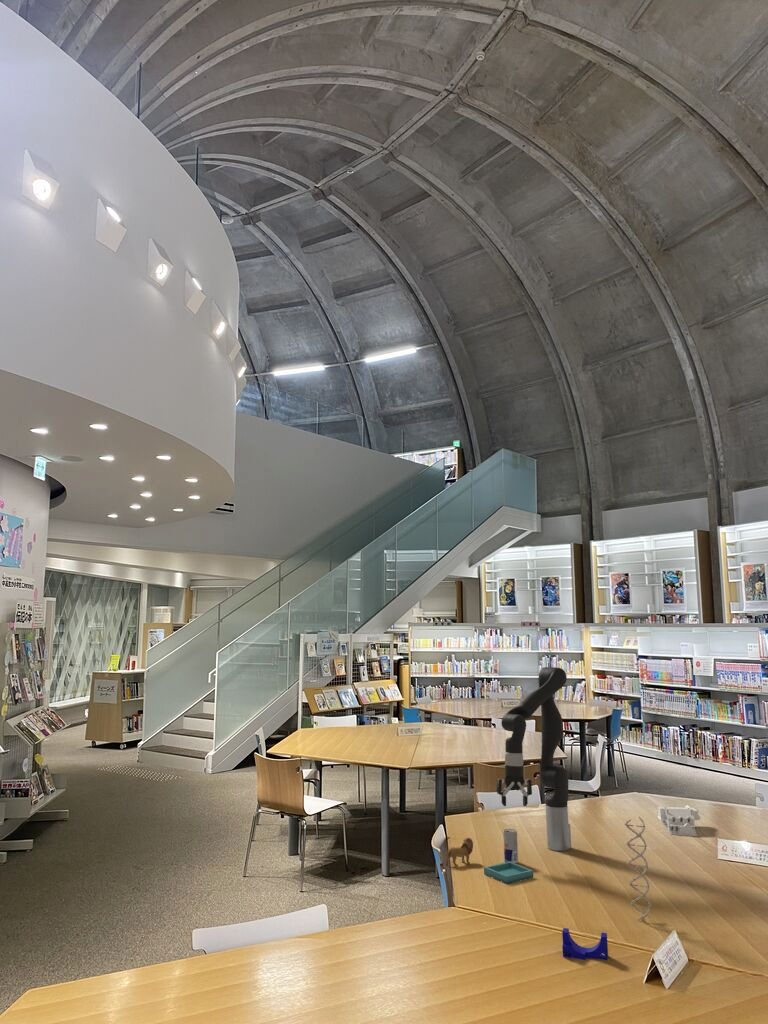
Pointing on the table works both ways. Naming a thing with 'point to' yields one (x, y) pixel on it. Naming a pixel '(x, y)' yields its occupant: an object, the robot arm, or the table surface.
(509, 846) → the energy drink
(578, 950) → the blue curved block
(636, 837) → the dna model
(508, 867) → the tray
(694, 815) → the house model
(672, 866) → the table surface
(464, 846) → the lion figurine
